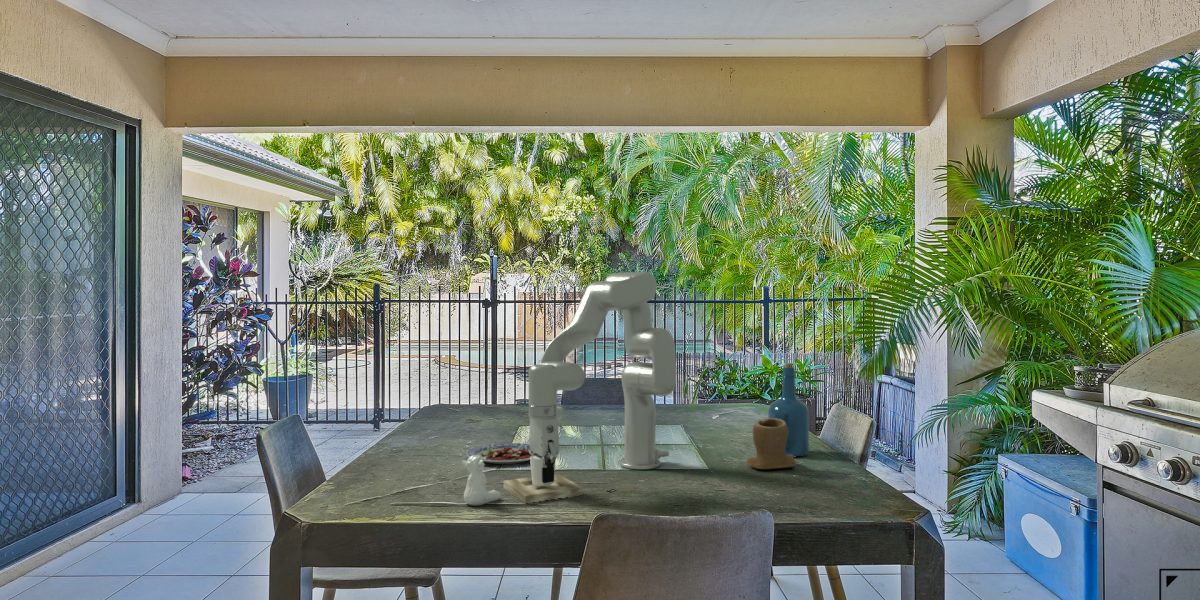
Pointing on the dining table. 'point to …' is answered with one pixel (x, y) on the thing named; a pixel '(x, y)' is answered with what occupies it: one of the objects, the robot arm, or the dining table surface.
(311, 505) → the dining table surface
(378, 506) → the dining table surface
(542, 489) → the coaster board
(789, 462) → the stone cup
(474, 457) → the sitting furry creature
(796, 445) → the wine bottle
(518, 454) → the ceramic plate
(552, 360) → the robot arm
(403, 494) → the dining table surface
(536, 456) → the white cup
